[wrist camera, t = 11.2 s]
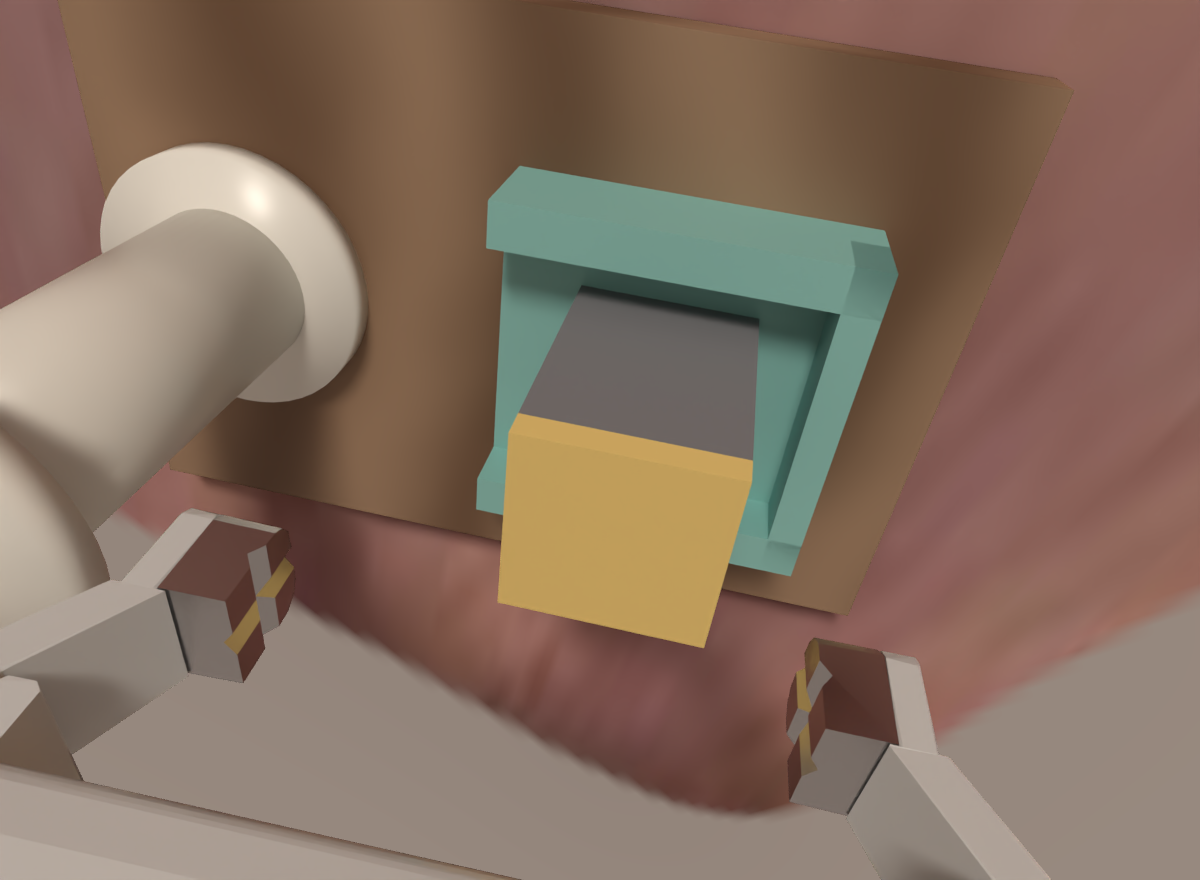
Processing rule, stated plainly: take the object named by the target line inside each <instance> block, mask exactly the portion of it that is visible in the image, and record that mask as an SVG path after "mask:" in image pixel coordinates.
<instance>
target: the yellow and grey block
mask: <svg viewBox="0 0 1200 880" xmlns="http://www.w3.org/2000/svg"><path fill="white" fill-rule="evenodd" d="M758 340H759V319H758V318H753V317H748V316H742V315H737V314H732V313H726V312H721V311H716V310H711V309H705V308H700V307H695V306H689V305H684V304H679V303H673V302H668V301H663V300H658V299H652V298H647V297H642V296H636V295H631V294H626V293H620V292H615V291H610V290H604V289H599V288H594V287H589V286H583V285H581V287H580V289H579V291H578V293H577V295H576V297H575V299H574V301H573V303H572V305H571V307H570V309H569V311H568V313H567V315H566V317H565V319H564V321H563V324H562V326H561V328H560V330H559V332H558V334H557V336H556V338H555V340H554V342H553V344H552V346H551V348H550V350H549V352H548V354H547V356H546V358H545V360H544V362H543V364H542V366H541V368H540V370H539V372H538V374H537V376H536V378H535V380H534V382H533V384H532V386H531V388H530V390H529V392H528V394H527V396H526V398H525V400H524V402H523V404H522V406H521V408H520V410H519V412H518V414H517V416H516V418H515V420H514V422H513V424H512V426H511V428H510V431H509V433H508V449H507V464H506V480H505V495H504V511H503V527H502V542H501V558H500V574H499V589H498V602H499V603H503V604H508V605H512V606H517V607H521V608H526V609H530V610H535V611H539V612H543V613H548V614H552V615H557V616H561V617H566V618H570V619H575V620H579V621H584V622H588V623H593V624H597V625H602V626H606V627H611V628H615V629H620V630H624V631H629V632H633V633H638V634H642V635H647V636H651V637H656V638H660V639H665V640H669V641H674V642H678V643H683V644H687V645H692V646H696V647H701V648H704V646H705V643H706V639H707V636H708V632H709V629H710V625H711V622H712V618H713V615H714V612H715V608H716V605H717V601H718V598H719V594H720V591H721V588H722V584H723V581H724V577H725V574H726V570H727V567H728V563H729V560H730V557H731V553H732V550H733V546H734V543H735V539H736V536H737V532H738V529H739V526H740V522H741V519H742V515H743V512H744V508H745V505H746V502H747V498H748V495H749V491H750V488H751V484H752V473H753V450H754V428H755V406H756V384H757V362H758Z"/></svg>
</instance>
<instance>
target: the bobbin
mask: <svg viewBox="0 0 1200 880" xmlns="http://www.w3.org/2000/svg"><path fill="white" fill-rule="evenodd" d="M100 238H101V250H102V254H101V255H99V256H98V257H96V258H94V259H92V260H90V261H88V262H87V263H85V264H83V265H81V266H79V267H77V268H76V269H74V270H72V271H70V272H68V273H66V274H64V275H63V276H61V277H59V278H57V279H55V280H53V281H52V282H50V283H48V284H46V285H44V286H42V287H41V288H39V289H37V290H35V291H33V292H31V293H29V294H28V295H26V296H24V297H22V298H20V299H18V300H17V301H15V302H13V303H11V304H9V305H7V306H6V307H4V308H2V309H0V629H1V628H3V627H5V626H7V625H10V624H12V623H14V622H16V621H19V620H21V619H23V618H25V617H28V616H30V615H32V614H34V613H37V612H39V611H41V610H44V609H46V608H48V607H50V606H53V605H55V604H57V603H59V602H62V601H64V600H66V599H68V598H71V597H73V596H75V595H77V594H80V593H82V592H84V591H87V590H89V589H91V588H93V587H96V586H98V585H100V584H102V583H105V582H107V581H109V580H110V577H109V573H108V569H107V564H106V562H105V559H104V557H103V554H102V552H101V549H100V547H99V544H98V542H97V540H96V538H95V536H94V535H93V532H94V531H95V530H96V529H97V528H98V527H99V526H100V525H101V524H103V523H104V522H105V521H106V520H107V519H108V518H109V517H110V516H111V515H112V514H113V513H114V512H115V511H116V510H117V509H118V508H120V507H121V506H122V505H123V504H124V503H125V502H126V501H127V500H128V499H129V498H130V497H131V496H132V495H133V494H134V493H135V492H137V491H138V490H139V489H140V488H141V487H142V486H143V485H144V484H145V483H146V482H147V481H148V480H149V479H150V478H151V477H152V476H154V475H155V474H156V473H157V472H158V471H159V470H160V469H161V468H162V467H163V466H164V465H165V464H166V463H167V462H168V461H169V460H170V459H172V458H173V457H174V456H175V455H176V454H177V453H178V452H179V451H180V450H181V449H182V448H183V447H184V446H185V445H186V444H187V443H189V442H190V441H191V440H192V439H193V438H194V437H195V436H196V435H197V434H198V433H199V432H200V431H201V430H202V429H203V428H204V427H206V426H207V425H208V424H209V423H210V422H211V421H212V420H213V419H214V418H215V417H216V416H217V415H218V414H219V413H220V412H221V411H223V410H224V409H225V408H226V407H227V406H228V405H229V404H230V403H231V402H232V401H233V400H234V399H235V398H236V397H237V398H241V399H245V400H251V401H258V402H285V401H291V400H295V399H300V398H303V397H305V396H308V395H310V394H313V393H315V392H316V391H318V390H320V389H321V388H323V387H324V386H326V385H327V384H328V383H329V382H330V381H331V380H332V379H333V378H334V377H335V376H336V375H337V374H338V373H339V372H340V371H341V370H342V369H343V368H344V366H345V365H346V364H347V363H348V362H349V361H350V359H351V358H352V357H353V355H354V354H355V353H356V351H357V349H358V347H359V345H360V343H361V341H362V338H363V335H364V332H365V329H366V324H367V318H368V293H367V285H366V280H365V276H364V272H363V268H362V265H361V263H360V260H359V257H358V255H357V252H356V250H355V248H354V246H353V244H352V242H351V240H350V238H349V236H348V234H347V233H346V231H345V229H344V228H343V226H342V225H341V223H340V222H339V220H338V219H337V217H336V216H335V215H334V214H333V212H332V211H331V210H330V209H329V207H328V206H327V205H326V204H325V202H324V201H323V200H322V199H321V198H320V197H319V196H318V195H317V194H316V193H315V192H314V191H313V190H312V189H311V188H310V187H308V186H307V185H306V184H305V183H304V182H302V181H301V180H300V179H299V178H298V177H296V176H295V175H294V174H292V173H291V172H289V171H288V170H286V169H285V168H283V167H282V166H280V165H279V164H277V163H275V162H273V161H271V160H269V159H267V158H265V157H263V156H261V155H259V154H256V153H254V152H251V151H249V150H246V149H243V148H239V147H235V146H231V145H227V144H220V143H211V142H201V143H189V144H184V145H179V146H175V147H173V148H170V149H168V150H165V151H163V152H160V153H158V154H156V155H153V156H151V157H149V158H146V159H144V160H142V161H140V162H138V163H137V164H135V165H134V166H132V167H131V168H129V169H128V170H127V171H126V172H125V173H124V174H123V175H122V176H121V177H120V178H119V179H118V180H117V182H116V183H115V185H114V186H113V187H112V189H111V191H110V193H109V195H108V197H107V199H106V202H105V205H104V209H103V213H102V217H101V228H100Z"/></svg>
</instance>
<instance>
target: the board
mask: <svg viewBox="0 0 1200 880" xmlns="http://www.w3.org/2000/svg"><path fill="white" fill-rule="evenodd" d="M58 4H59V8H60V13H61V17H62V21H63V25H64V29H65V33H66V38H67V42H68V46H69V50H70V54H71V58H72V62H73V67H74V71H75V75H76V79H77V83H78V87H79V91H80V96H81V100H82V104H83V108H84V112H85V116H86V121H87V125H88V129H89V133H90V137H91V141H92V145H93V150H94V154H95V158H96V162H97V166H98V170H99V175H100V179H101V183H102V187H103V191H104V195H105V199H107V197H108V195H109V193H110V191H111V189H112V187H113V186H114V185H115V183H116V182H117V180H118V179H119V178H120V177H121V176H122V175H123V174H124V173H125V172H126V171H127V170H128V169H129V168H131V167H132V166H134V165H135V164H137V163H138V162H140V161H142V160H144V159H146V158H149V157H151V156H153V155H156V154H158V153H160V152H163V151H165V150H168V149H170V148H173V147H175V146H179V145H184V144H189V143H201V142H211V143H220V144H227V145H231V146H235V147H239V148H243V149H246V150H249V151H251V152H254V153H256V154H259V155H261V156H263V157H265V158H267V159H269V160H271V161H273V162H275V163H277V164H279V165H280V166H282V167H283V168H285V169H286V170H288V171H289V172H291V173H292V174H294V175H295V176H296V177H298V178H299V179H300V180H301V181H302V182H304V183H305V184H306V185H307V186H308V187H310V188H311V189H312V190H313V191H314V192H315V193H316V194H317V195H318V196H319V197H320V198H321V199H322V200H323V201H324V202H325V204H326V205H327V206H328V207H329V209H330V210H331V211H332V212H333V214H334V215H335V216H336V217H337V219H338V220H339V222H340V223H341V225H342V226H343V228H344V229H345V231H346V233H347V234H348V236H349V238H350V240H351V242H352V244H353V246H354V248H355V250H356V252H357V255H358V257H359V260H360V263H361V265H362V268H363V272H364V276H365V280H366V285H367V293H368V318H367V324H366V329H365V332H364V335H363V338H362V341H361V343H360V345H359V347H358V349H357V351H356V353H355V354H354V355H353V357H352V358H351V359H350V361H349V362H348V363H347V364H346V365H345V366H344V368H343V369H342V370H341V371H340V372H339V373H338V374H337V375H336V376H335V377H334V378H333V379H332V380H331V381H330V382H329V383H328V384H327V385H326V386H324V387H323V388H321V389H320V390H318V391H316V392H315V393H313V394H310V395H308V396H305V397H303V398H300V399H295V400H291V401H285V402H258V401H251V400H245V399H241V398H237V397H236V398H235V399H234V400H233V401H232V402H231V403H230V404H229V405H228V406H227V407H226V408H225V409H224V410H223V411H221V412H220V413H219V414H218V415H217V416H216V417H215V418H214V419H213V420H212V421H211V422H210V423H209V424H208V425H207V426H206V427H204V428H203V429H202V430H201V431H200V432H199V433H198V434H197V435H196V436H195V437H194V438H193V439H192V440H191V441H190V442H189V443H187V444H186V445H185V446H184V447H183V448H182V449H181V450H180V451H179V452H178V453H177V454H176V455H175V456H174V457H173V458H172V459H170V460H169V465H170V469H171V470H175V471H180V472H184V473H189V474H194V475H198V476H203V477H208V478H212V479H217V480H221V481H226V482H231V483H235V484H240V485H245V486H249V487H254V488H258V489H263V490H268V491H272V492H277V493H282V494H286V495H291V496H295V497H300V498H305V499H309V500H314V501H319V502H323V503H328V504H333V505H337V506H342V507H346V508H351V509H356V510H360V511H365V512H370V513H374V514H379V515H383V516H388V517H393V518H397V519H402V520H407V521H411V522H416V523H420V524H425V525H430V526H434V527H439V528H444V529H448V530H453V531H457V532H462V533H467V534H471V535H476V536H481V537H485V538H490V539H494V540H499V541H502V527H503V515H501V514H496V513H491V512H487V511H482V510H477V509H476V502H477V478H478V476H479V474H480V472H481V470H482V468H483V466H484V465H485V463H486V461H487V459H488V457H489V455H490V453H491V451H492V449H493V447H494V430H495V411H496V391H497V372H498V353H499V333H500V314H501V294H502V275H503V256H504V251H498V250H493V249H488V248H486V239H487V213H488V200H489V198H490V197H491V196H492V195H493V194H494V193H495V192H496V191H497V190H498V189H499V188H500V187H501V185H502V184H503V183H504V182H505V181H506V180H507V179H508V178H509V177H510V176H511V175H512V174H513V173H514V171H515V170H516V169H517V168H518V167H519V166H524V167H530V168H535V169H541V170H547V171H552V172H558V173H563V174H569V175H575V176H580V177H586V178H592V179H597V180H603V181H608V182H614V183H620V184H625V185H631V186H637V187H642V188H648V189H654V190H659V191H665V192H670V193H676V194H682V195H687V196H693V197H699V198H704V199H710V200H715V201H721V202H727V203H732V204H738V205H744V206H749V207H755V208H761V209H766V210H772V211H777V212H783V213H789V214H794V215H800V216H806V217H811V218H817V219H822V220H828V221H834V222H839V223H845V224H851V225H856V226H862V227H868V228H873V229H879V230H884V231H885V232H886V236H887V239H888V242H889V245H890V249H891V252H892V255H893V258H894V262H895V265H896V268H897V271H898V277H897V280H896V283H895V286H894V289H893V291H892V294H891V297H890V300H889V303H888V305H887V308H886V311H885V314H884V317H883V319H882V322H881V325H880V328H879V331H878V333H877V336H876V339H875V342H874V345H873V347H872V350H871V353H870V356H869V359H868V361H867V364H866V367H865V370H864V373H863V375H862V378H861V381H860V384H859V387H858V389H857V392H856V395H855V398H854V401H853V403H852V406H851V409H850V412H849V415H848V417H847V420H846V423H845V426H844V429H843V431H842V434H841V437H840V440H839V443H838V445H837V448H836V451H835V454H834V457H833V459H832V462H831V465H830V468H829V471H828V473H827V476H826V479H825V482H824V485H823V487H822V490H821V493H820V496H819V499H818V501H817V504H816V507H815V510H814V513H813V515H812V518H811V521H810V524H809V527H808V529H807V532H806V535H805V538H804V541H803V543H802V546H801V549H800V552H799V555H798V557H797V560H796V563H795V566H794V569H793V571H792V574H791V576H786V575H782V574H777V573H772V572H768V571H763V570H758V569H754V568H749V567H744V566H740V565H735V564H730V563H728V567H727V570H726V574H725V577H724V581H723V584H722V588H721V589H726V590H730V591H735V592H740V593H744V594H749V595H754V596H758V597H763V598H767V599H772V600H777V601H781V602H786V603H791V604H795V605H800V606H804V607H809V608H814V609H818V610H823V611H828V612H832V613H837V614H841V615H846V616H848V614H849V611H850V609H851V607H852V605H853V602H854V600H855V598H856V595H857V593H858V591H859V588H860V586H861V584H862V581H863V579H864V577H865V574H866V572H867V570H868V567H869V565H870V563H871V560H872V558H873V556H874V554H875V551H876V549H877V547H878V544H879V542H880V540H881V537H882V535H883V533H884V530H885V528H886V526H887V523H888V521H889V519H890V516H891V514H892V512H893V509H894V507H895V505H896V503H897V500H898V498H899V496H900V493H901V491H902V489H903V486H904V484H905V482H906V479H907V477H908V475H909V472H910V470H911V468H912V465H913V463H914V461H915V459H916V456H917V454H918V452H919V449H920V447H921V445H922V442H923V440H924V438H925V435H926V433H927V431H928V428H929V426H930V424H931V421H932V419H933V417H934V414H935V412H936V410H937V408H938V405H939V403H940V401H941V398H942V396H943V394H944V391H945V389H946V387H947V384H948V382H949V380H950V377H951V375H952V373H953V370H954V368H955V366H956V363H957V361H958V359H959V357H960V354H961V352H962V350H963V347H964V345H965V343H966V340H967V338H968V336H969V333H970V331H971V329H972V326H973V324H974V322H975V319H976V317H977V315H978V312H979V310H980V308H981V306H982V303H983V301H984V299H985V296H986V294H987V292H988V289H989V287H990V285H991V282H992V280H993V278H994V275H995V273H996V271H997V268H998V266H999V264H1000V262H1001V259H1002V257H1003V255H1004V252H1005V250H1006V248H1007V245H1008V243H1009V241H1010V238H1011V236H1012V234H1013V231H1014V229H1015V227H1016V224H1017V222H1018V220H1019V217H1020V215H1021V213H1022V211H1023V208H1024V206H1025V204H1026V201H1027V199H1028V197H1029V194H1030V192H1031V190H1032V187H1033V185H1034V183H1035V180H1036V178H1037V176H1038V173H1039V171H1040V169H1041V166H1042V164H1043V162H1044V160H1045V157H1046V155H1047V153H1048V150H1049V148H1050V146H1051V143H1052V141H1053V139H1054V136H1055V134H1056V132H1057V129H1058V127H1059V125H1060V122H1061V120H1062V118H1063V115H1064V113H1065V111H1066V109H1067V106H1068V104H1069V102H1070V99H1071V97H1072V95H1073V92H1074V90H1073V89H1071V88H1070V87H1068V86H1067V85H1065V84H1064V83H1062V82H1061V81H1060V80H1058V79H1057V78H1051V77H1045V76H1039V75H1033V74H1026V73H1020V72H1014V71H1008V70H1001V69H995V68H989V67H983V66H976V65H970V64H964V63H958V62H951V61H945V60H939V59H933V58H926V57H920V56H914V55H908V54H901V53H895V52H889V51H883V50H876V49H870V48H864V47H858V46H851V45H845V44H839V43H833V42H826V41H820V40H814V39H808V38H801V37H795V36H789V35H783V34H776V33H770V32H764V31H758V30H751V29H745V28H739V27H733V26H726V25H720V24H714V23H708V22H701V21H695V20H689V19H683V18H676V17H670V16H664V15H658V14H651V13H645V12H639V11H633V10H626V9H620V8H614V7H608V6H601V5H595V4H589V3H582V2H576V1H570V0H58Z"/></svg>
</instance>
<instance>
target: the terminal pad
mask: <svg viewBox="0 0 1200 880" xmlns="http://www.w3.org/2000/svg"><path fill="white" fill-rule="evenodd" d="M486 248H488V249H493V250H498V251H504V256H503V275H502V294H501V314H500V333H499V353H498V372H497V391H496V411H495V430H494V447H493V449H492V451H491V453H490V455H489V457H488V459H487V461H486V463H485V465H484V466H483V468H482V470H481V472H480V474H479V476H478V478H477V502H476V509H477V510H482V511H487V512H491V513H496V514H501V515H503V511H504V495H505V480H506V464H507V449H508V433H509V431H510V428H511V426H512V424H513V422H514V420H515V418H516V416H517V414H518V412H519V410H520V408H521V406H522V404H523V402H524V400H525V398H526V396H527V394H528V392H529V390H530V388H531V386H532V384H533V382H534V380H535V378H536V376H537V374H538V372H539V370H540V368H541V366H542V364H543V362H544V360H545V358H546V356H547V354H548V352H549V350H550V348H551V346H552V344H553V342H554V340H555V338H556V336H557V334H558V332H559V330H560V328H561V326H562V324H563V321H564V319H565V317H566V315H567V313H568V311H569V309H570V307H571V305H572V303H573V301H574V299H575V297H576V295H577V293H578V291H579V289H580V287H581V285H583V286H589V287H594V288H599V289H604V290H610V291H615V292H620V293H626V294H631V295H636V296H642V297H647V298H652V299H658V300H663V301H668V302H673V303H679V304H684V305H689V306H695V307H700V308H705V309H711V310H716V311H721V312H726V313H732V314H737V315H742V316H748V317H753V318H758V319H759V340H758V362H757V384H756V406H755V428H754V450H753V473H752V484H751V488H750V491H749V495H748V498H747V502H746V505H745V508H744V512H743V515H742V519H741V522H740V526H739V529H738V532H737V536H736V539H735V543H734V546H733V550H732V553H731V557H730V560H729V563H730V564H735V565H740V566H744V567H749V568H754V569H758V570H763V571H768V572H772V573H777V574H782V575H786V576H791V574H792V571H793V569H794V566H795V563H796V560H797V557H798V555H799V552H800V549H801V546H802V543H803V541H804V538H805V535H806V532H807V529H808V527H809V524H810V521H811V518H812V515H813V513H814V510H815V507H816V504H817V501H818V499H819V496H820V493H821V490H822V487H823V485H824V482H825V479H826V476H827V473H828V471H829V468H830V465H831V462H832V459H833V457H834V454H835V451H836V448H837V445H838V443H839V440H840V437H841V434H842V431H843V429H844V426H845V423H846V420H847V417H848V415H849V412H850V409H851V406H852V403H853V401H854V398H855V395H856V392H857V389H858V387H859V384H860V381H861V378H862V375H863V373H864V370H865V367H866V364H867V361H868V359H869V356H870V353H871V350H872V347H873V345H874V342H875V339H876V336H877V333H878V331H879V328H880V325H881V322H882V319H883V317H884V314H885V311H886V308H887V305H888V303H889V300H890V297H891V294H892V291H893V289H894V286H895V283H896V280H897V277H898V271H897V268H896V265H895V262H894V258H893V255H892V252H891V249H890V245H889V242H888V239H887V236H886V232H885V231H884V230H879V229H873V228H868V227H862V226H856V225H851V224H845V223H839V222H834V221H828V220H822V219H817V218H811V217H806V216H800V215H794V214H789V213H783V212H777V211H772V210H766V209H761V208H755V207H749V206H744V205H738V204H732V203H727V202H721V201H715V200H710V199H704V198H699V197H693V196H687V195H682V194H676V193H670V192H665V191H659V190H654V189H648V188H642V187H637V186H631V185H625V184H620V183H614V182H608V181H603V180H597V179H592V178H586V177H580V176H575V175H569V174H563V173H558V172H552V171H547V170H541V169H535V168H530V167H524V166H519V167H518V168H517V169H516V170H515V171H514V173H513V174H512V175H511V176H510V177H509V178H508V179H507V180H506V181H505V182H504V183H503V184H502V185H501V187H500V188H499V189H498V190H497V191H496V192H495V193H494V194H493V195H492V196H491V197H490V198H489V200H488V213H487V239H486Z"/></svg>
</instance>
